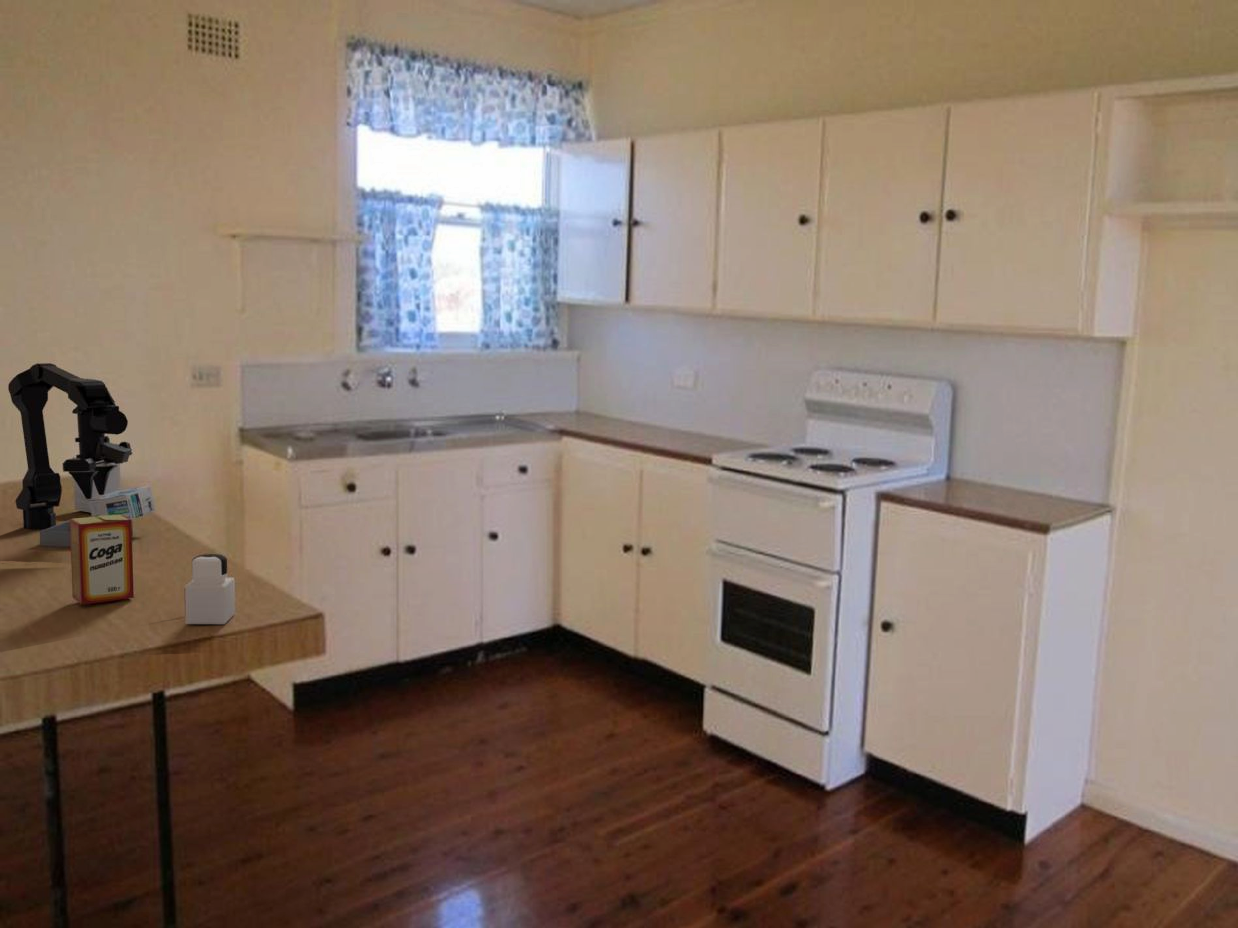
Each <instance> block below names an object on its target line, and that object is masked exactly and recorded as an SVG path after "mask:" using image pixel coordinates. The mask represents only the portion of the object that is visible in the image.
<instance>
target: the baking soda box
mask: <svg viewBox="0 0 1238 928" xmlns="http://www.w3.org/2000/svg"><path fill="white" fill-rule="evenodd" d="M69 520H70V541H71V547H70V564H71V565H70V566H71V593H72V598H73V600H75V601H76V602H78V603H79V604H80V605H81V606H82V605H90V604H91V605H92V604H96V603H97V604H98V603H105V602H112V601H119V600H126V599H134V561H133V558H134V557H133V535H132V522H131V521H132V520H131V519H129V518H127V517H125V516H123V515H105V516H97V517H92V516H91V517H89V516H87V517H78V518H75V517H74V518H70V519H69Z"/></svg>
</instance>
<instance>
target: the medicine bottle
mask: <svg viewBox="0 0 1238 928" xmlns="http://www.w3.org/2000/svg"><path fill="white" fill-rule="evenodd" d="M191 578H192V580H191V581H190V582H189V583H188V584H186V585H185V586H184V621H185V624H186V625H226V624H227V623H228V622H229V620H230V619H231V618H232V617H233V616H234V615H235V614H236V593H235V592H236V589H235V588H236V587H235V584H236V583H235V578H234V577H228V558H227V557H226V556H224V555H222V554H218V553H205V554H200V555H197V556H195V557H194V558H192V560H191Z"/></svg>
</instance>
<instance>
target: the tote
mask: <svg viewBox="0 0 1238 928" xmlns="http://www.w3.org/2000/svg"><path fill="white" fill-rule="evenodd" d="M131 522H132V536H134V528H133V527H134V525H133V523H134V522H133V520H131ZM39 546H40V547H55V548H56V547H59V548H63V547H64V548H65V547H66V548H71V541H70V519H69V520H66V521H64V522H61V523H59V524H56V525H55V526H53V527H50V528H47V529H41V531H39Z"/></svg>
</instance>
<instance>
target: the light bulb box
mask: <svg viewBox="0 0 1238 928" xmlns="http://www.w3.org/2000/svg"><path fill="white" fill-rule="evenodd" d="M88 503H89V507H90V511H91V513H90V514H91V517H97V516H105V515H123V516H125V517H127V518H129V519H131V521H133V520H135V519H137V518H138V519H139V518H140V517H143V516H146V515H148V514H151V513H153V512H155V511H156V510H157V508H156V504H155V500H154V497H153V492H152V488H151V486H150V485H146V486H140V487H133V488H127V489H123V490H122V489H121V491H115V492H112V493H110V494H107V495H104V496H101V497H98V498H95V499H92V500H89V501H88Z"/></svg>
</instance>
